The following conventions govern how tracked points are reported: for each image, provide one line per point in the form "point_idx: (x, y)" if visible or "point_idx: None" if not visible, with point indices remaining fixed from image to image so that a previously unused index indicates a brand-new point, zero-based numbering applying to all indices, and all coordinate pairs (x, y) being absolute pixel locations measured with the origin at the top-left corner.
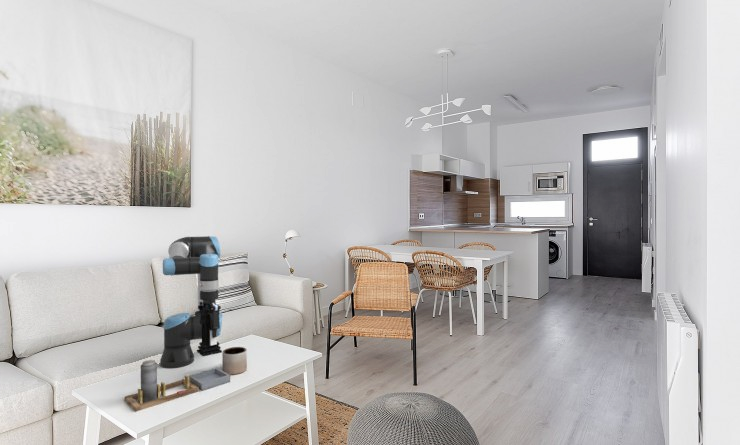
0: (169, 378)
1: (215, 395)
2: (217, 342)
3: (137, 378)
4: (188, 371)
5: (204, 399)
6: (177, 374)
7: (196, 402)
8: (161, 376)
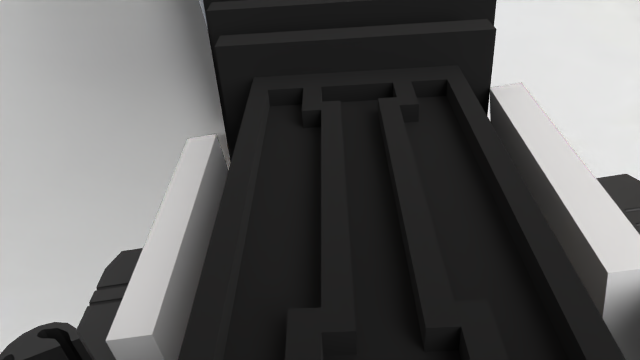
0: (101, 198)
1: (608, 17)
2: (425, 43)
3: (21, 324)
4: (4, 70)
5: (604, 96)
6: (42, 146)
7: (603, 144)
8: (40, 229)
